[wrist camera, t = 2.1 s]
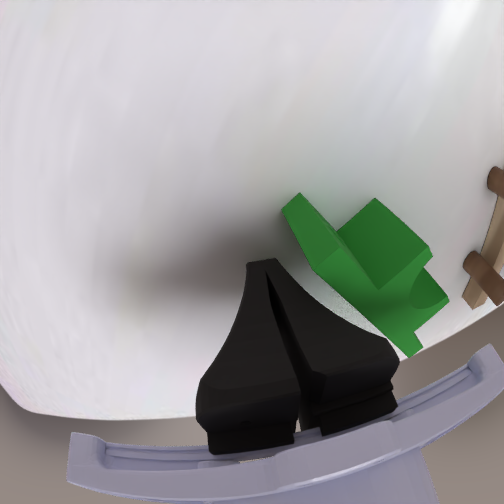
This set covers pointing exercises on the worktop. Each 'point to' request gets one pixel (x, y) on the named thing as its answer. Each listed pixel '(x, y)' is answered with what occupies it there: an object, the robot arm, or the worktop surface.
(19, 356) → the worktop surface
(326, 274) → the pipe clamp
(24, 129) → the worktop surface
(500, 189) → the peg rack
